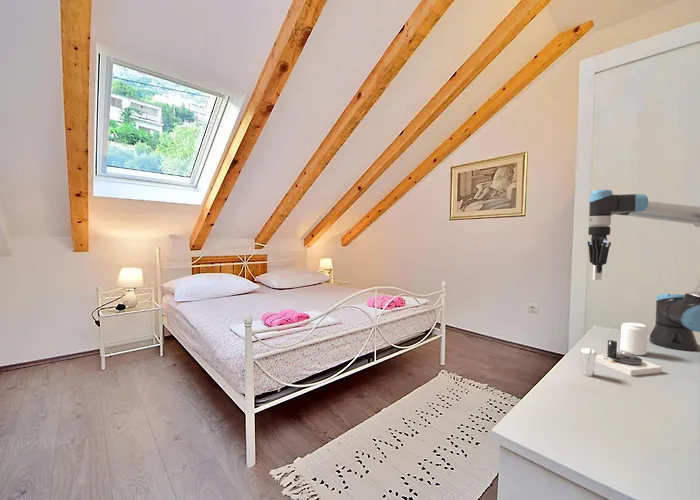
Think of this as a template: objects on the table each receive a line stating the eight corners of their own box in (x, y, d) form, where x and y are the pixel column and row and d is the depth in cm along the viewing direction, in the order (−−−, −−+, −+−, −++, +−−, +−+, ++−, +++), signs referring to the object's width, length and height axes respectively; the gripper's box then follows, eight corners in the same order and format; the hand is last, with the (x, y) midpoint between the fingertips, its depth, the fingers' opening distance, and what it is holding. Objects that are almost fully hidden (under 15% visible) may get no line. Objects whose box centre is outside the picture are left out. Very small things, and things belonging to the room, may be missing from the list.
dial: (625, 355, 123) (626, 337, 123) (648, 364, 114) (650, 345, 114) (598, 355, 122) (598, 337, 122) (619, 365, 113) (620, 345, 113)
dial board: (620, 357, 127) (620, 352, 127) (661, 372, 113) (661, 366, 113) (592, 360, 124) (592, 354, 124) (630, 375, 110) (630, 369, 110)
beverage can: (635, 349, 136) (636, 321, 136) (651, 356, 128) (653, 327, 127) (615, 348, 137) (616, 321, 136) (629, 355, 129) (631, 326, 128)
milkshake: (581, 376, 109) (582, 348, 109) (578, 370, 114) (579, 343, 114) (598, 379, 107) (599, 350, 107) (594, 373, 112) (595, 345, 111)
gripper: (581, 226, 145) (579, 277, 146) (598, 225, 132) (596, 281, 133) (600, 226, 144) (597, 278, 145) (619, 225, 131) (616, 282, 132)
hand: (597, 279), depth 139 cm, fingers closed
